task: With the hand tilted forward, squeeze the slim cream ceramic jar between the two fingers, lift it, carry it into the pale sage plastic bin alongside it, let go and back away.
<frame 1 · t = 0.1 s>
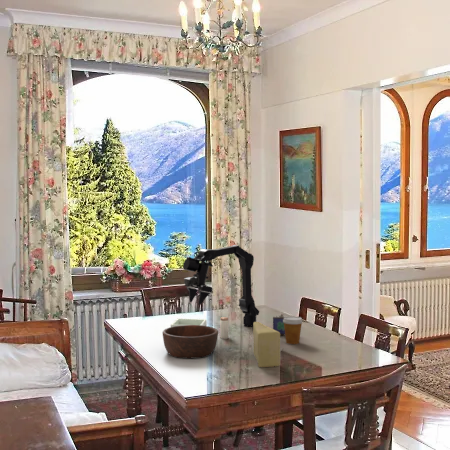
hand: (195, 303, 322), 15 cm above the table, tool pointing down, fingers open, 9 cm apart
bin: (188, 329, 331), on the table
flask: (281, 334, 321), on the table
cheese: (261, 360, 273), on the table
disposable coffee cup: (292, 343, 303), on the table
wooden bowl: (190, 353, 284), on the table
jar: (224, 337, 313), on the table
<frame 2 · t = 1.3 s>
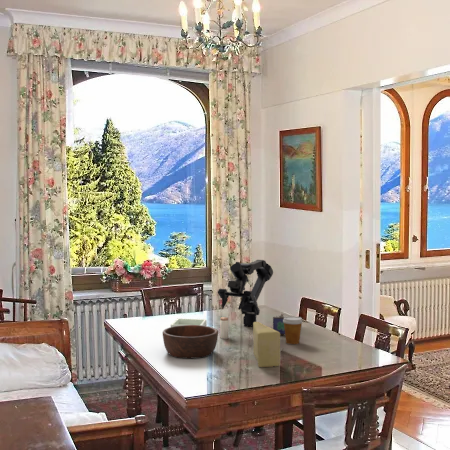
hand: (230, 308, 320), 13 cm above the table, tool tilted 45°, fingers open, 9 cm apart
nothing on the table moved.
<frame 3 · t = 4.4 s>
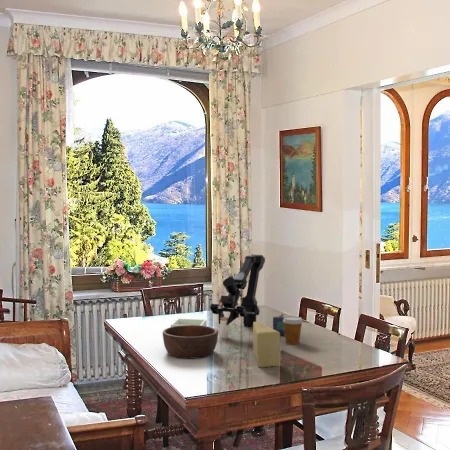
hand: (223, 324, 312), 7 cm above the table, tool tilted 45°, fingers closed on jar, 4 cm apart
jar: (224, 337, 313), on the table, touching gripper
everything else where it was.
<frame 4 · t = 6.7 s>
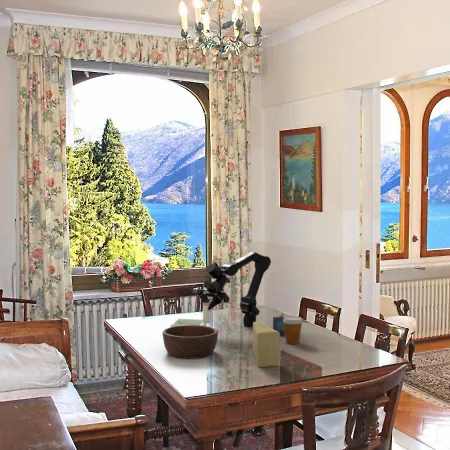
hand: (205, 309, 317), 13 cm above the table, tool tilted 45°, fingers closed on jar, 4 cm apart
jar: (206, 322, 319), point 6 cm above the table, touching gripper
everything else where it was.
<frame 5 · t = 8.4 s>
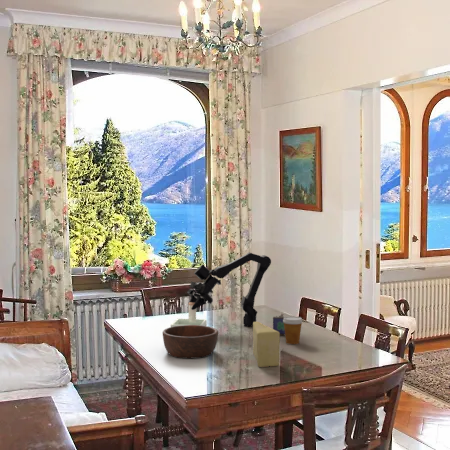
hand: (190, 308, 331), 11 cm above the table, tool tilted 45°, fingers closed on jar, 4 cm apart
jar: (192, 321, 332), point 4 cm above the table, touching gripper
everything else where it was.
when the fingers open (9 cm above the table, at t = 9.4 s): jar drops 1 cm, resting on bin.
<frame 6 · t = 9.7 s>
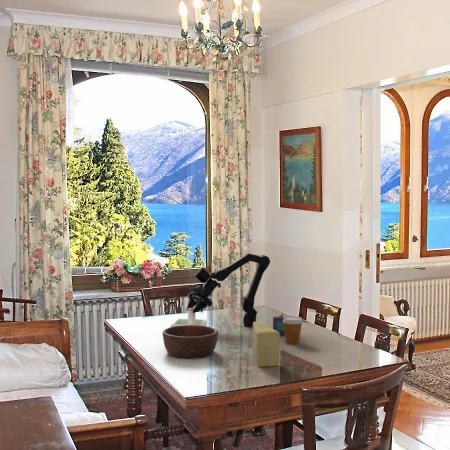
hand: (189, 311, 331), 10 cm above the table, tool tilted 45°, fingers open, 7 cm apart
jar: (192, 327, 332), point 1 cm above the table, touching bin
everything else where it was.
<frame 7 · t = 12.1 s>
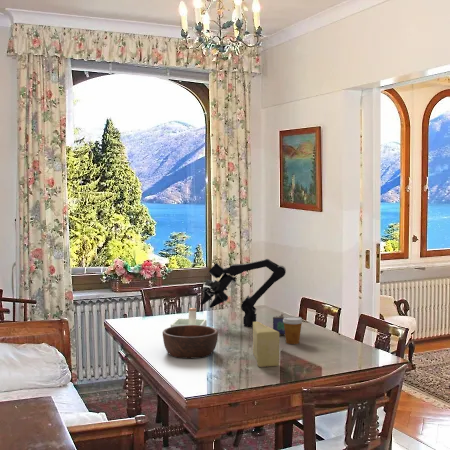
hand: (205, 306, 336), 12 cm above the table, tool tilted 45°, fingers open, 9 cm apart
nothing on the table moved.
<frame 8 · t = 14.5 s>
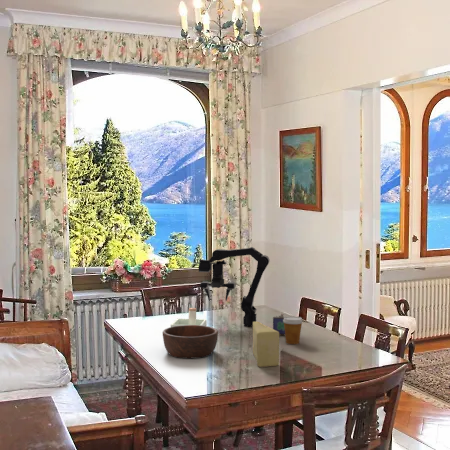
hand: (217, 300, 343), 13 cm above the table, tool pointing down, fingers open, 9 cm apart
nothing on the table moved.
at the end: jar inside the target area on the bin (2.1 cm from its centre), point 1.0 cm above the bin's base; the gripper is holding nothing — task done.
